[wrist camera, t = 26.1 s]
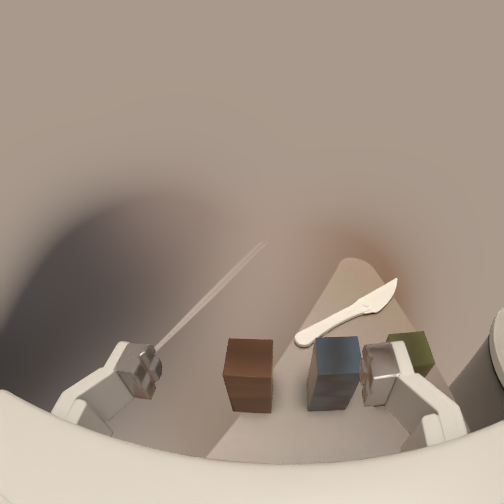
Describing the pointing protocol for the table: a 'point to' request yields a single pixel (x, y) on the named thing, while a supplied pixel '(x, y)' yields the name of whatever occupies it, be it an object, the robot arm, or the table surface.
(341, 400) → the slate block
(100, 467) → the robot arm
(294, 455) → the table surface
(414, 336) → the olive block
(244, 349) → the walnut block
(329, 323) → the knife
